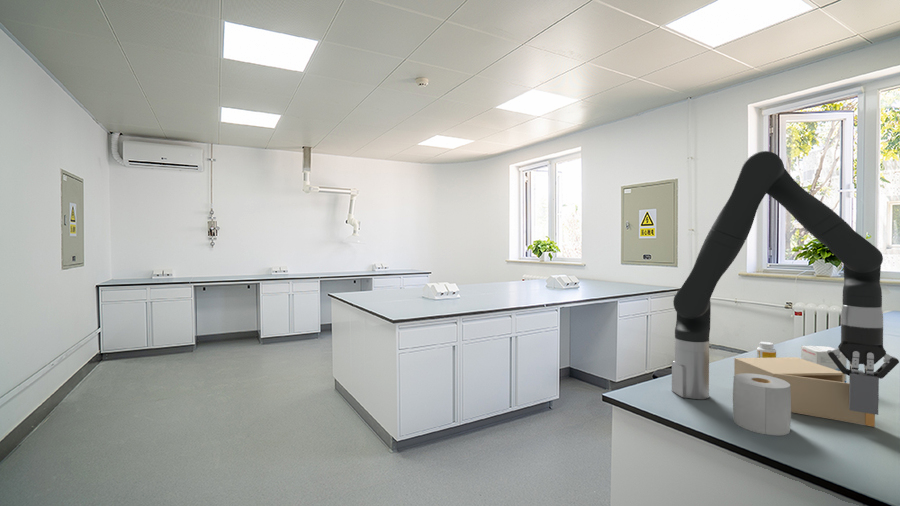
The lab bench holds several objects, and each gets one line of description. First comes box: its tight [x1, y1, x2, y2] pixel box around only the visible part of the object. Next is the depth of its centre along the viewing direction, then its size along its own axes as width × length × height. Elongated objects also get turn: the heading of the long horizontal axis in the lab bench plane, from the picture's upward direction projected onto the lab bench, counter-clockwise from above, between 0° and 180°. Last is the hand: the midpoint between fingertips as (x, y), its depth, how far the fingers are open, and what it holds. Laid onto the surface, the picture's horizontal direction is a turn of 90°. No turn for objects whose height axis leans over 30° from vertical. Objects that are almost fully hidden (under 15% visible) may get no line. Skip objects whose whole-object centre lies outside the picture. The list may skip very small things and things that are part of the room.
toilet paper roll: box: [732, 373, 792, 437], centre depth 107 cm, size 12×12×12 cm
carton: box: [733, 356, 845, 383], centre depth 125 cm, size 20×16×10 cm
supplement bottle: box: [756, 341, 777, 358], centre depth 151 cm, size 6×6×10 cm
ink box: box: [800, 345, 848, 383], centre depth 137 cm, size 9×8×12 cm
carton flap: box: [775, 369, 880, 427], centre depth 109 cm, size 20×6×14 cm, turn 55°
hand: (861, 392), depth 105 cm, fingers closed
